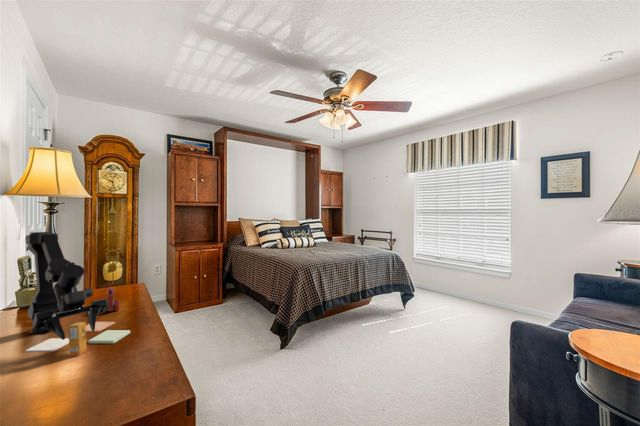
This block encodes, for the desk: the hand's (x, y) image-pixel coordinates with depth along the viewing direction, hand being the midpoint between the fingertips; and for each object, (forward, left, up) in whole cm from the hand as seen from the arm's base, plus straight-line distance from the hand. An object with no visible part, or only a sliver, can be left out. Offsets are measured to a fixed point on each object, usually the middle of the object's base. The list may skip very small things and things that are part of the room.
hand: (79, 334), depth 93 cm
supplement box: (-1, +1, -7) cm, 7 cm away
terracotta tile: (-12, +23, -7) cm, 27 cm away
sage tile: (+1, +13, -7) cm, 14 cm away
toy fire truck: (-21, +43, -7) cm, 48 cm away
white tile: (-15, +7, -7) cm, 18 cm away
